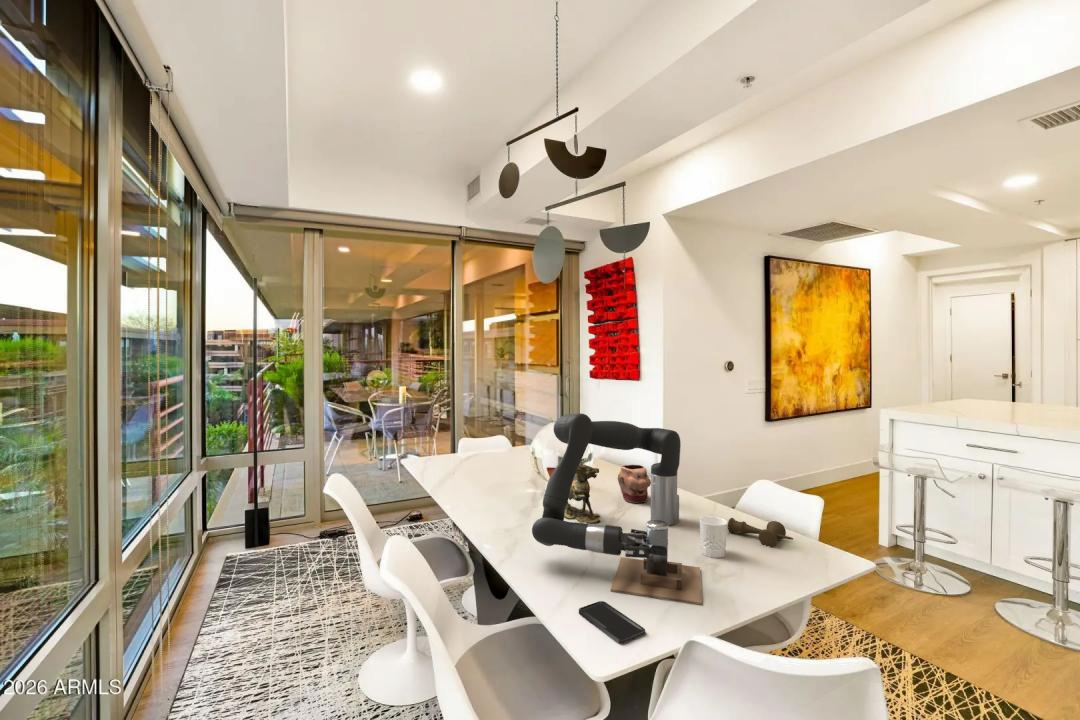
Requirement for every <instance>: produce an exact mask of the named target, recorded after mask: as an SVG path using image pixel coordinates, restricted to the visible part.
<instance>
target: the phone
mask: <svg viewBox="0 0 1080 720" xmlns="http://www.w3.org/2000/svg"><path fill="white" fill-rule="evenodd" d="M578 615H580V616H581V617H582V618H583V619H585V620H586V621H587V622H589V623H590V624H591V625H592V626H594V627H595V628H596V629H598V630H599V631H600V632H602V633H603V634H605V635H606V636H607V637H609V638H610V639H611V640H612V641H613V642H614V643H616V644H618V645H626V644H628V643H630V642H633V641H634V640H637V639H640V638H642V637H644V636H645V635H646V629H645V628H644V627H643V626H642V625H641V624H639V623H637V622H635V620H633V619H632V618H630V617H628V616H627V615H625V614H624V613H622V612H620V611H619V610H618V609H616V608H615V607H614V606H612V605H610V604H609V603H608V602H606V601H605V600H604V601H603V600H599V601H595V602H593V603H591V604H587V605H584V606H581V607H579V608H578Z"/></svg>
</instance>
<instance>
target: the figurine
mask: <svg viewBox="0 0 1080 720" xmlns="http://www.w3.org/2000/svg"><path fill="white" fill-rule="evenodd" d="M599 473H600V468H598V467H597V468H595V467H592V466H590V465H586V464H583V463H580V464H579V467H578V469H577V471H576V474H575V477H576V480H573V483H572V486H571V490H570V494H569V498H568V501H567V505H566V508H565V514H564V519H567V520H576V522H578V523H586V524H589V523H590V524H596V523H597V524H600V522H601V520H600V513H597V512H595V513H594V511H593V509H592V507H591V506H592V505H591V502H590V497H591V495H590V492H591V491H590V490H591V488H590V483H589V481H588V480H589V479H591V478H593V479H596V478H597V476H598V474H599ZM571 500H574V501H576V502H581V501H582V508H581V509H579V508H577V507H575V506H572V504H571V503H569V501H571ZM586 507H587V508H588V509H586Z"/></svg>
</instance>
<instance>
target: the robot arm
mask: <svg viewBox="0 0 1080 720" xmlns="http://www.w3.org/2000/svg"><path fill="white" fill-rule="evenodd" d="M553 433H554V436H555V437H556V438H557V440H558V441H560V442H561V443H564V444H567V446H566V449H565V452H564V454H563V455H562V458H561V459H560V460H559V462H558V464H557V465H556V466H555V468H554V470H553V472H552V473H551V475H550V476H549V479H548V481H547V484H546V487H545V492H544V495H543V499H542V507H543V511H542V516H541V517H540V518H538V519H536V521H534V522H533V525H532V527H531V534H532V537H533V539H534V540H535V541H537V542H538V543H539V544H541V545H543V546H546V547H551V546H554V545H556V546H563V547H564V546H565V547H568V548H571V549H574V550H582V551H588V552H592V553H597V554H603V555H611V556H617V557H618V556H620V555H621V554H622V551H623V552H624V553H625V554H624V556H625V558H637V559H638V558H643V559H647V558H649V555H652V554H653V555H661V556H666V555H667V547H665V546H656V545H650V544H647V530H646V531H645V530H640V529H633V528H631V529H630V532H624V531H623V528H622V526H618V525H611V524H601V523H597V524H589V523H586V522H578V521H576V522H573V521H567V520H565V518H564V514H565V508H566V505H567V501H568V502H569V494H570V490H571V486H572V483H573V480H574V479H575V477H576V471H577V469H578V467H579V465H581V462H582V459H583V457H584V454H585V452H586V449H587V448H588V445H589V444H590V445H594V446H599V447H601V448H602V447H603V448H608V449H613V450H622V451H630V450H634V449H639V450H640V449H642V450H645V451H648V452H650V453H654V454H657V455H661V457H660V458H661V459H660V461H659V462H655V463H653V464H652V465H651V467H650V480H651V484H650V520H660V521H664V522H666V523H668V526H673V525H676V524H677V523H678V522H680V495H679V494H678V471H679V467H680V459H681V443H682V442H681V437H680V435H679V432H677V431H675V430H673V429H672V430H671V429H666V428H662V427H661V428H659V427H647V428H646V427H640V426H639V427H638V425H635V424H632V423H629V422H625V421H616V420H596V421H595V420H594V421H592V420H591V418H590V417H589V416H588V415H587V414H585V413H569V414H564V415H562V416H560V417H558V418H557V420H556V421H555V422H554V425H553ZM574 481H575V480H574Z"/></svg>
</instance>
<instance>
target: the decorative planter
mask: <svg viewBox="0 0 1080 720" xmlns="http://www.w3.org/2000/svg"><path fill="white" fill-rule="evenodd" d="M617 482H618V485H619V489H620V491H621V495H622V497H623V500H624V501H626V502H628V503H634V504H641V503H645V502H647V501H648V499H649V491H648V488H649V487H651V477H649V475H648V471H647V469H646V467H645V466H643V465H641V464H625V465H622V466H621V468H620V471H619V472H618V474H617Z"/></svg>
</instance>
